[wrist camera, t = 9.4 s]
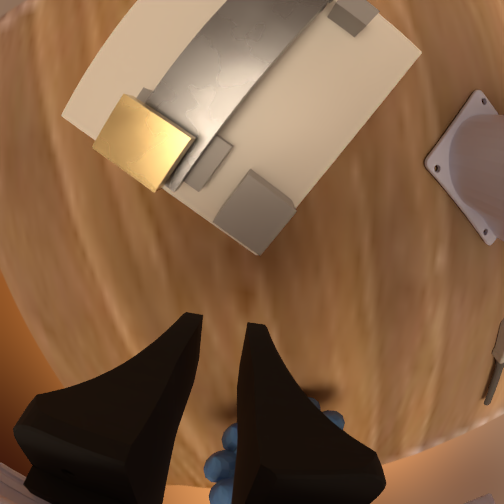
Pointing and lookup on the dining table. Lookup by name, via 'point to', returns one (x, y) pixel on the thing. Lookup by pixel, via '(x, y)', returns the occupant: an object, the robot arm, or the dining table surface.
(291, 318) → the dining table surface
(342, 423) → the grapes
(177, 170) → the strap
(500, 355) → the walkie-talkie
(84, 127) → the latch base plate
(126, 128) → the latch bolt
